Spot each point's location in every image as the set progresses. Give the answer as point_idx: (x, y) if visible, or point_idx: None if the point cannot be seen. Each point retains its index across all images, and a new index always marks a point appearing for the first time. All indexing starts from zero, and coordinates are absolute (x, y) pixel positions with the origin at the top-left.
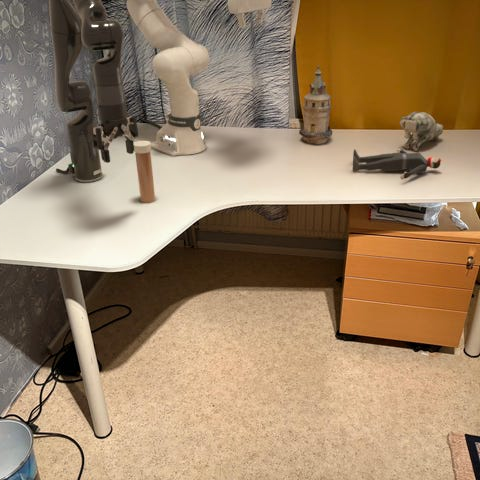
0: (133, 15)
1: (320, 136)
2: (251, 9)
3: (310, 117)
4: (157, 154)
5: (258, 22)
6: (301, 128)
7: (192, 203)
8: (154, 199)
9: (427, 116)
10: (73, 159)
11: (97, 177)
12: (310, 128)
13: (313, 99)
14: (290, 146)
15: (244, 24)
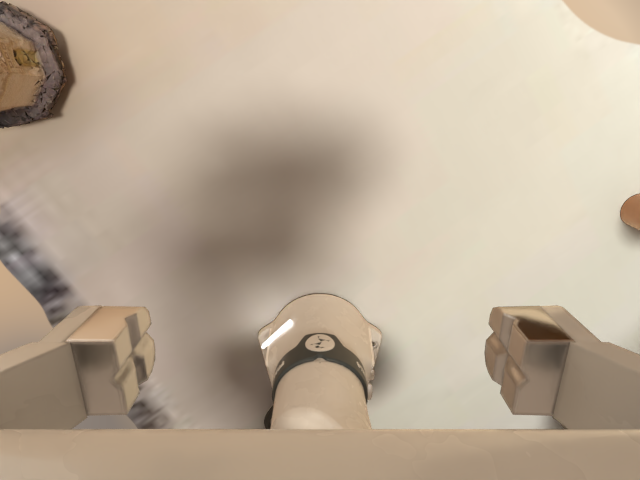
0: None
1: (34, 23)
2: (525, 453)
3: (6, 65)
4: (390, 366)
5: (141, 332)
6: (23, 121)
7: (619, 105)
8: (638, 195)
9: None
10: None
11: None
12: (29, 68)
13: None
14: (126, 110)
15: (556, 323)
